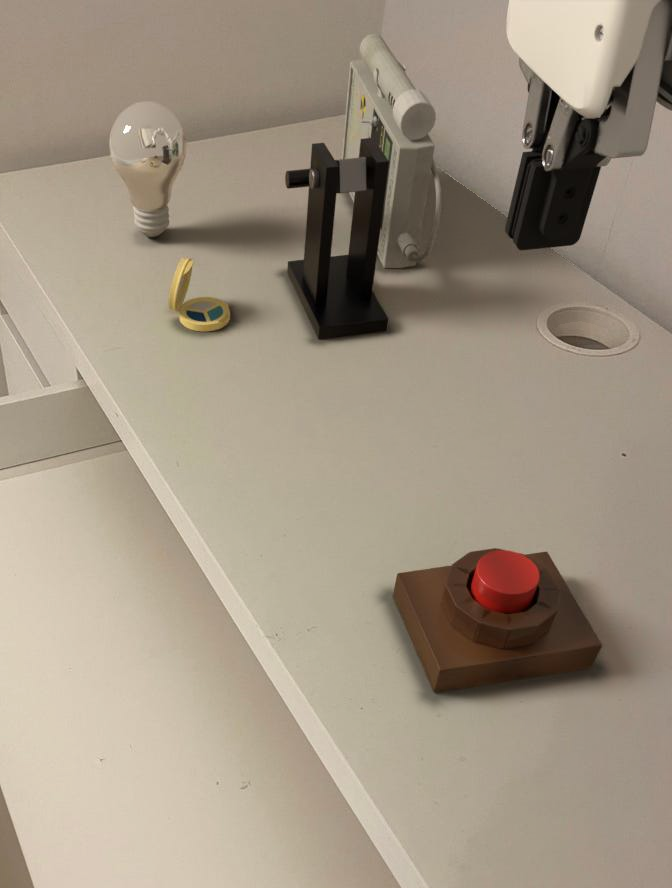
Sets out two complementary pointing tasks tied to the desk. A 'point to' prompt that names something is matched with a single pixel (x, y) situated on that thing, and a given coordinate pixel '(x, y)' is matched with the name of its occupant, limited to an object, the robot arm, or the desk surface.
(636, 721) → the desk surface
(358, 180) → the lever
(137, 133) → the light bulb
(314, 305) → the bracket
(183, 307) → the eyeshadow
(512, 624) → the button block
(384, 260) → the geiger counter
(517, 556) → the button
